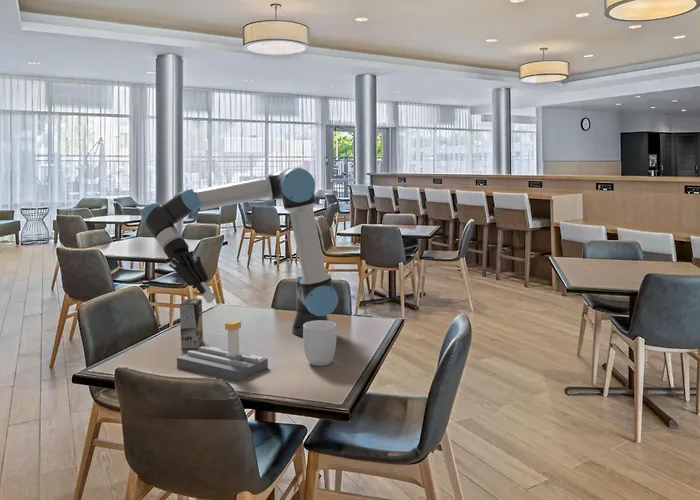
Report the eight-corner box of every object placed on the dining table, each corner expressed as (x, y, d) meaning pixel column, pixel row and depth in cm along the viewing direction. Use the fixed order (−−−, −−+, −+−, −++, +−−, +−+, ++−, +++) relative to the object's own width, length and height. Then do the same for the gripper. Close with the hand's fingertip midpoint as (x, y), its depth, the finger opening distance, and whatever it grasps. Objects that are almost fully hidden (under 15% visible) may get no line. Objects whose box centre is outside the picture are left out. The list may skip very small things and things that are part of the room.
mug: (300, 355, 195) (300, 318, 193) (332, 353, 197) (332, 316, 195) (305, 369, 180) (304, 329, 178) (339, 367, 182) (339, 328, 180)
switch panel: (267, 367, 182) (267, 355, 181) (238, 381, 170) (238, 367, 169) (208, 354, 195) (207, 342, 194) (177, 366, 183) (176, 354, 182)
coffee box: (199, 348, 202) (197, 304, 200) (180, 348, 202) (179, 304, 199) (203, 340, 211) (202, 298, 209) (185, 341, 211) (184, 299, 209)
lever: (243, 358, 180) (242, 321, 178) (234, 362, 177) (233, 324, 175) (233, 356, 182) (232, 320, 180) (224, 360, 179) (223, 323, 177)
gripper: (180, 249, 194) (217, 303, 189) (152, 252, 183) (191, 310, 177) (192, 235, 191) (231, 290, 186) (164, 237, 180) (204, 296, 174)
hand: (211, 300), depth 182 cm, fingers closed
